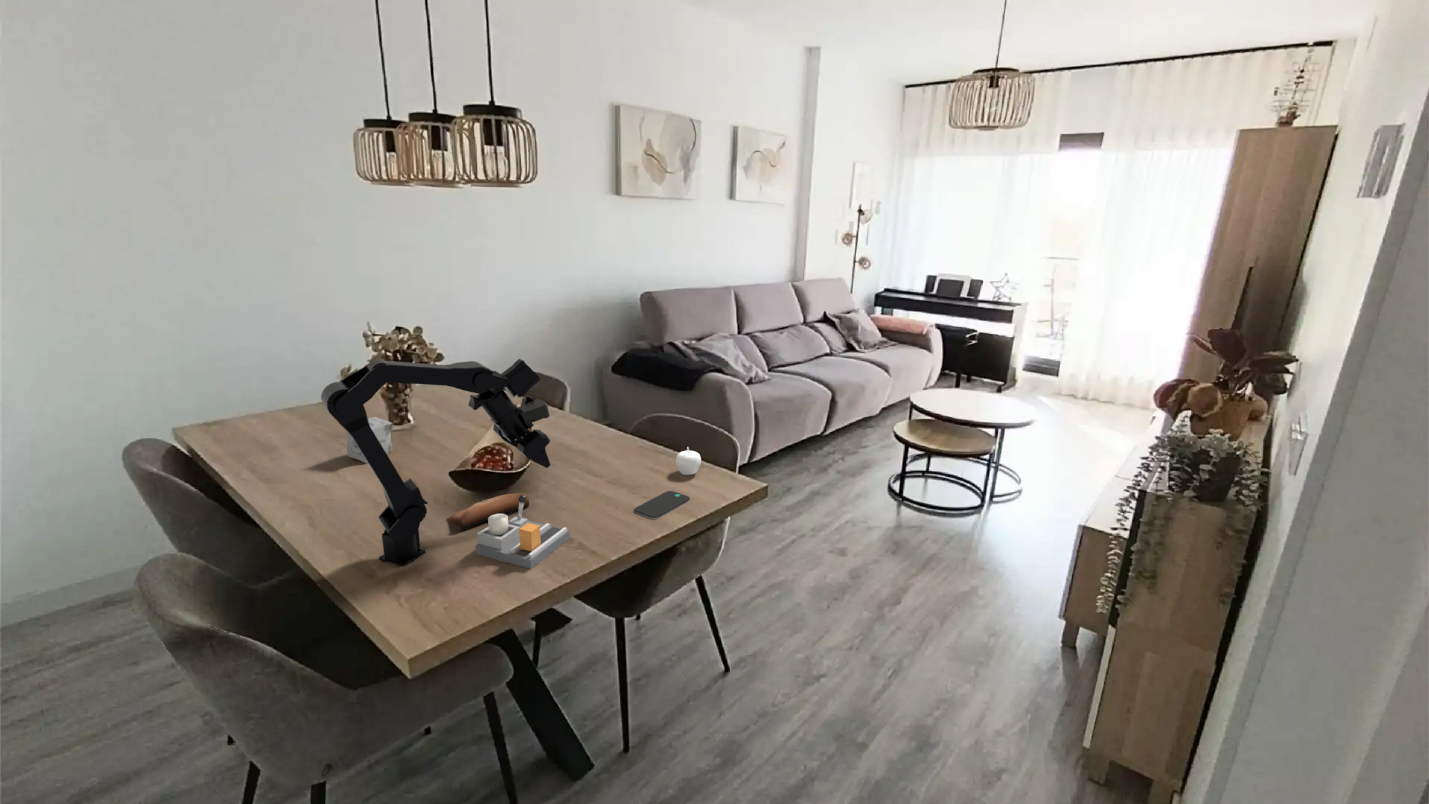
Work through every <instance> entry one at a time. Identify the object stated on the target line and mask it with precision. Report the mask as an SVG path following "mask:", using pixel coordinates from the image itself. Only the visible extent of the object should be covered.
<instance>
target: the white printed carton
mask: <svg viewBox="0 0 1429 804" xmlns="http://www.w3.org/2000/svg"><path fill="white" fill-rule="evenodd" d="M368 421H369V425H370V427H371V429H372V431H373V432H374V434H375V436H376V437H377V439H378V441H379V442H380V444H381V446H382V447H383V449H384V450H385V452H386V454H387V455H388V454H390V453H392V451H393V445H392V442H391V441H392V440H391V439H392V435H391V432H392V431H393V430H394V426H393V422H391V421H389V420H385V419H382V418H379V417H377V416H372V417H369V418H368ZM346 454H347V457H349V458H352V459H355V460H357V461H361V462H362V463H365V464H369V463H368V462H367V460H366V459H365V457H364V455H363V454H362V452H361V451H360V449H359V448H358V446H357V444H356V443H355V441H354V440H353V438H352V436H351V435H350V434H349V433H348V432H347V431H346Z"/></svg>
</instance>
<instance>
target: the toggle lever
mask: <svg viewBox="0 0 1429 804" xmlns="http://www.w3.org/2000/svg"><path fill="white" fill-rule="evenodd" d="M525 495H526V494H524V495H520V496H519V498H518V500H519V508H518V509H517V514H516V515H517V518H519V519H521V518H523V510H524V507H523V506H524V502H525V501H526V496H527V495H526V496H525Z"/></svg>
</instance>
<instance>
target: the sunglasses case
mask: <svg viewBox="0 0 1429 804" xmlns="http://www.w3.org/2000/svg"><path fill="white" fill-rule="evenodd" d="M520 495H525V496H526V501H525V502H524V506H523V508H525V507H527V508H528V507H529V506H530V501H529V498H528V497H527V495H526V494H524V493H508V494H503V495H502V494H501V495H497V496H494V497H491V498H487V499H483V500H482V501H479V502H476V503H474V504H472V505H471V506H470V507H467V508H463V509H462V510H460V511H457V512H455V513H454V514H451V515H450V516H448V517H447V518H446V519H445V521H446V522H448V523H449V524H451V525H452V526H454V527H455V528H456V529H458V530H459V531H460V532H462V531H465V530H468V529H469V528H472V527H474V526H476V525H479V524H480V523H483V522H486V521H488V518H489V517H490V516H491V515H494V514H507V513H511V512H513V511H516V510H518V508H519V500H518V498H519V496H520Z"/></svg>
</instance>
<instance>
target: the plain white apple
mask: <svg viewBox="0 0 1429 804" xmlns="http://www.w3.org/2000/svg"><path fill="white" fill-rule="evenodd" d="M701 463H702V458H701V455H700V453H698V452H697V451H694V450H690V448H689V446H687V447H686V450H684V451H683V450H682V451H680V452H679V453H678V454H677V456H676V457H675V464H676V466H677V468H678V470H679V473H680V474H682V475H684V476H691V475H694V474H696V473H697V471H698V469H699V468H700V466H701Z"/></svg>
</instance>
